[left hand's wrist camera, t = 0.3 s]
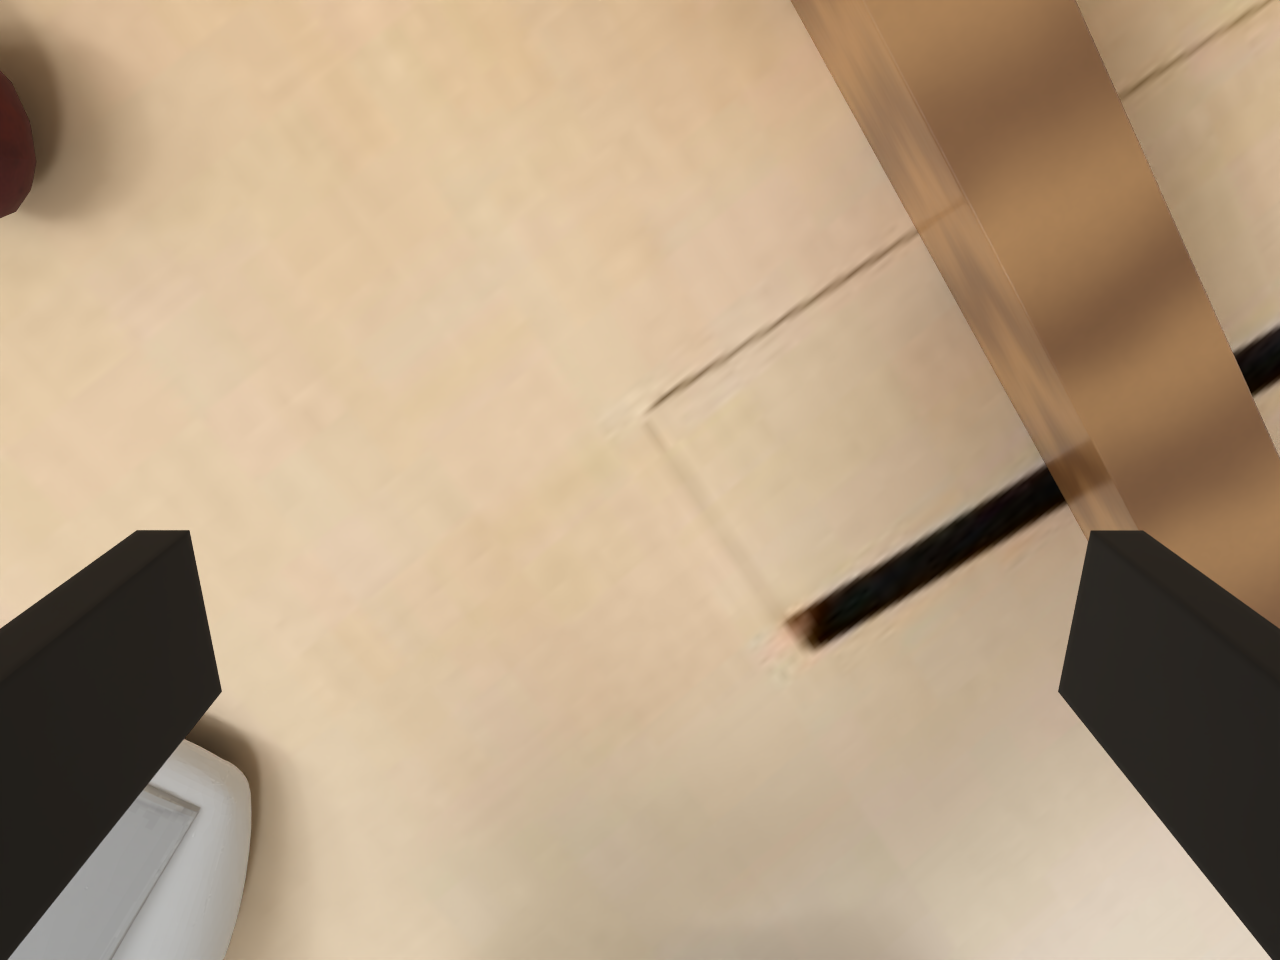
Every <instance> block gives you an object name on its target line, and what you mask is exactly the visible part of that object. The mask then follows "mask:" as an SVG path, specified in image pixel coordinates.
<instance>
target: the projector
mask: <svg viewBox="0 0 1280 960" xmlns="http://www.w3.org/2000/svg"><path fill="white" fill-rule="evenodd" d="M251 815H252V813H251V792H250V788H249V783H248V780H247V778H246V777H245V776H244V774H243V773H242V772H241V771H240V770H239V769H238V768H237V767H236V766H235V765H233V764H232V763H230V762H229V761H226V760H224V759H222V758H220V757H218V756H217V755H215V754H213V753H211V752H209V751H208V750H206V749H204V748H202V747H200V746H198V745H196V744H194V743H192V742H190V741H188V740H185V739H184V740H183V741H182V742H181V743H180V745H179V746H178V747H177V748H176V750H175V751H174V752H173V753H172V755H171V756H170V757H169V758H168V760H167V761H166V762H165V763H164V765H163V766H162V767H161V768H160V770H159V771H158V772H157V773H156V775H155V776H154V777H153V778H152V780H151V781H150V782H149V783H148V785H147V786H146V787H145V788H144V790H143V791H142V792H141V793H140V795H139V796H138V797H137V798H136V800H135V801H134V802H133V803H132V805H131V806H130V807H129V808H128V810H127V811H126V812H125V813H124V815H123V816H122V817H121V818H120V820H119V821H118V822H117V823H116V825H115V826H114V827H113V828H112V830H111V831H110V832H109V833H108V835H107V836H106V837H105V838H104V840H103V841H102V842H101V843H100V845H99V846H98V847H97V849H96V850H95V851H94V852H93V854H92V855H91V856H90V857H89V859H88V860H87V861H86V862H85V864H84V865H83V866H82V867H81V869H80V870H79V871H78V872H77V874H76V875H75V876H74V877H73V879H72V880H71V881H70V882H69V884H68V885H67V886H66V887H65V889H64V890H63V891H62V892H61V894H60V895H59V896H58V897H57V899H56V900H55V901H54V902H53V904H52V905H51V906H50V907H49V909H48V910H47V911H46V912H45V914H44V915H43V916H42V917H41V919H40V920H39V921H38V922H37V924H36V925H35V926H34V927H33V929H32V930H31V931H30V932H29V934H28V935H27V936H26V937H25V939H24V940H23V941H22V942H21V944H20V945H19V946H18V947H17V949H16V950H15V951H14V952H13V954H12V955H11V956H10V957H9V959H8V960H224V957H225V955H226V952H227V949H228V946H229V943H230V940H231V937H232V934H233V930H234V927H235V924H236V920H237V916H238V912H239V908H240V904H241V900H242V895H243V890H244V884H245V879H246V872H247V864H248V857H249V849H250V837H251Z"/></svg>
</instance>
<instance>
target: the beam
mask: <svg viewBox="0 0 1280 960" xmlns="http://www.w3.org/2000/svg"><path fill="white" fill-rule="evenodd" d="M791 2H792V3H793V5H794V7H795V9H796V11H797V13H798V14H799V16H800V18H801V20H802V22H803V23H804V25H805V27H806V29H807V31H808V33H809V34H810V36H811V38H812V40H813V42H814V43H815V45H816V47H817V49H818V51H819V53H820V54H821V56H822V58H823V60H824V62H825V63H826V65H827V67H828V69H829V71H830V73H831V74H832V76H833V78H834V80H835V82H836V83H837V85H838V87H839V89H840V91H841V93H842V94H843V96H844V98H845V100H846V102H847V103H848V105H849V107H850V109H851V111H852V113H853V114H854V116H855V118H856V120H857V122H858V123H859V125H860V127H861V129H862V131H863V133H864V134H865V136H866V138H867V140H868V142H869V143H870V145H871V147H872V149H873V151H874V153H875V154H876V156H877V158H878V160H879V162H880V164H881V165H882V167H883V169H884V171H885V173H886V174H887V176H888V178H889V180H890V182H891V184H892V185H893V187H894V189H895V191H896V193H897V194H898V196H899V198H900V200H901V202H902V204H903V205H904V207H905V209H906V211H907V213H908V214H909V216H910V218H911V220H912V222H913V224H914V225H915V227H916V229H917V231H918V233H919V234H920V236H921V238H922V240H923V242H924V244H925V245H926V247H927V249H928V251H929V253H930V254H931V256H932V258H933V260H934V262H935V264H936V265H937V267H938V269H939V271H940V273H941V274H942V276H943V278H944V280H945V282H946V284H947V285H948V287H949V289H950V291H951V293H952V294H953V296H954V298H955V300H956V302H957V304H958V305H959V307H960V309H961V311H962V313H963V315H964V316H965V318H966V320H967V322H968V324H969V325H970V327H971V329H972V331H973V333H974V335H975V336H976V338H977V340H978V342H979V344H980V345H981V347H982V349H983V351H984V353H985V355H986V356H987V358H988V360H989V362H990V364H991V365H992V367H993V369H994V371H995V373H996V375H997V376H998V378H999V380H1000V382H1001V384H1002V385H1003V387H1004V389H1005V391H1006V393H1007V395H1008V396H1009V398H1010V400H1011V402H1012V404H1013V405H1014V407H1015V409H1016V411H1017V413H1018V415H1019V416H1020V418H1021V420H1022V422H1023V424H1024V425H1025V427H1026V429H1027V431H1028V433H1029V435H1030V436H1031V438H1032V440H1033V442H1034V444H1035V445H1036V447H1037V449H1038V451H1039V453H1040V455H1041V456H1042V458H1043V460H1044V462H1045V464H1046V466H1047V467H1048V469H1049V471H1050V473H1051V475H1052V476H1053V478H1054V480H1055V482H1056V484H1057V486H1058V487H1059V489H1060V491H1061V493H1062V495H1063V496H1064V498H1065V500H1066V502H1067V504H1068V506H1069V507H1070V509H1071V511H1072V513H1073V515H1074V516H1075V518H1076V520H1077V522H1078V524H1079V526H1080V527H1081V529H1082V531H1083V533H1084V535H1085V536H1086V538H1087V540H1088V541H1089V536H1090V531H1091V530H1143V531H1145V532H1146V533H1147V534H1149V535H1150V536H1152V537H1153V538H1154V539H1156V540H1157V541H1159V542H1160V543H1161V544H1163V545H1164V546H1166V547H1167V548H1168V549H1170V550H1171V551H1172V552H1174V553H1175V554H1177V555H1178V556H1179V557H1181V558H1182V559H1184V560H1185V561H1186V562H1188V563H1189V564H1191V565H1192V566H1193V567H1195V568H1196V569H1197V570H1199V571H1200V572H1202V573H1203V574H1204V575H1206V576H1207V577H1209V578H1210V579H1211V580H1213V581H1214V582H1216V583H1217V584H1218V585H1220V586H1221V587H1222V588H1224V589H1225V590H1227V591H1228V592H1229V593H1231V594H1232V595H1234V596H1235V597H1236V598H1238V599H1239V600H1241V601H1242V602H1243V603H1245V604H1246V605H1247V606H1249V607H1250V608H1252V609H1253V610H1254V611H1256V612H1257V613H1259V614H1260V615H1261V616H1263V617H1264V618H1265V619H1267V620H1268V621H1270V622H1271V623H1272V624H1274V625H1275V626H1277V627H1278V628H1279V629H1280V458H1279V455H1278V453H1277V451H1276V449H1275V446H1274V444H1273V442H1272V440H1271V437H1270V435H1269V433H1268V431H1267V428H1266V426H1265V424H1264V422H1263V419H1262V417H1261V415H1260V413H1259V411H1258V408H1257V406H1256V404H1255V402H1254V399H1253V397H1252V395H1251V393H1250V390H1249V388H1248V386H1247V384H1246V381H1245V379H1244V377H1243V375H1242V372H1241V370H1240V368H1239V366H1238V363H1237V361H1236V359H1235V357H1234V355H1233V352H1232V350H1231V348H1230V346H1229V343H1228V341H1227V339H1226V337H1225V334H1224V332H1223V330H1222V328H1221V325H1220V323H1219V321H1218V319H1217V316H1216V314H1215V312H1214V310H1213V307H1212V305H1211V303H1210V301H1209V299H1208V296H1207V294H1206V292H1205V290H1204V287H1203V285H1202V283H1201V281H1200V278H1199V276H1198V274H1197V272H1196V269H1195V267H1194V265H1193V263H1192V260H1191V258H1190V256H1189V254H1188V252H1187V249H1186V247H1185V245H1184V243H1183V240H1182V238H1181V236H1180V234H1179V231H1178V229H1177V227H1176V225H1175V222H1174V220H1173V218H1172V216H1171V213H1170V211H1169V209H1168V207H1167V204H1166V202H1165V200H1164V198H1163V196H1162V193H1161V191H1160V189H1159V187H1158V184H1157V182H1156V180H1155V178H1154V175H1153V173H1152V171H1151V169H1150V166H1149V164H1148V162H1147V160H1146V157H1145V155H1144V153H1143V151H1142V148H1141V146H1140V144H1139V142H1138V140H1137V137H1136V135H1135V133H1134V131H1133V128H1132V126H1131V124H1130V122H1129V119H1128V117H1127V115H1126V113H1125V110H1124V108H1123V106H1122V104H1121V101H1120V99H1119V97H1118V95H1117V92H1116V90H1115V88H1114V86H1113V84H1112V81H1111V79H1110V77H1109V75H1108V72H1107V70H1106V68H1105V66H1104V63H1103V61H1102V59H1101V57H1100V54H1099V52H1098V50H1097V48H1096V45H1095V43H1094V41H1093V39H1092V37H1091V34H1090V32H1089V30H1088V28H1087V25H1086V23H1085V21H1084V19H1083V16H1082V14H1081V12H1080V10H1079V7H1078V5H1077V3H1076V1H1075V0H791Z"/></svg>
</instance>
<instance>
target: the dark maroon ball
mask: <svg viewBox="0 0 1280 960" xmlns="http://www.w3.org/2000/svg"><path fill="white" fill-rule="evenodd" d="M35 166H36V157H35V151H34V144H33V138H32V131H31V125H30V122H29V119H28V117H27V115H26V113H25V110H24V108H23V106H22V104H21V102H20V100H19V97H18V95H17V93H16V91H15V89H14V87H13V84H12V82H11V81H10V80H9V79H8V78H7V77H6V76H5V75H4V74H3V73H2V72H1V71H0V218H2V217H4V216H6V215H9V214H11V213H14V212H16V211H17V209H18V208H19V206H20V205H21V203H22V202H23V200H24V199H25V198H26V196H27V195H28V193H29V192H30V190H31V187H32V182H33V177H34V171H35Z"/></svg>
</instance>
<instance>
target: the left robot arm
mask: <svg viewBox="0 0 1280 960" xmlns="http://www.w3.org/2000/svg"><path fill="white" fill-rule="evenodd" d="M221 692H222V690H221V685H220V680H219V675H218V670H217V665H216V660H215V655H214V650H213V645H212V640H211V635H210V630H209V625H208V620H207V615H206V610H205V605H204V600H203V595H202V591H201V586H200V581H199V576H198V571H197V566H196V561H195V556H194V551H193V546H192V541H191V536H190V531H189V530H137V531H135V532H134V533H133V534H131V535H130V536H128V537H127V538H126V539H124V540H123V541H121V542H120V543H119V544H117V545H116V546H114V547H113V548H112V549H110V550H109V551H108V552H106V553H105V554H103V555H102V556H101V557H99V558H98V559H96V560H95V561H94V562H92V563H91V564H89V565H88V566H87V567H85V568H84V569H83V570H81V571H80V572H78V573H77V574H76V575H74V576H73V577H71V578H70V579H69V580H67V581H66V582H64V583H63V584H62V585H60V586H59V587H58V588H56V589H55V590H53V591H52V592H51V593H49V594H48V595H46V596H45V597H44V598H42V599H41V600H39V601H38V602H37V603H35V604H34V605H33V606H31V607H30V608H28V609H27V610H26V611H24V612H23V613H21V614H20V615H19V616H17V617H16V618H15V619H13V620H12V621H10V622H9V623H8V624H6V625H5V626H3V627H2V628H1V629H0V960H8V959H9V957H10V956H11V955H12V954H13V952H14V951H15V950H16V949H17V947H18V946H19V945H20V944H21V942H22V941H23V940H24V939H25V937H26V936H27V935H28V934H29V932H30V931H31V930H32V929H33V927H34V926H35V925H36V924H37V922H38V921H39V920H40V919H41V917H42V916H43V915H44V914H45V912H46V911H47V910H48V909H49V907H50V906H51V905H52V904H53V902H54V901H55V900H56V899H57V897H58V896H59V895H60V894H61V892H62V891H63V890H64V889H65V887H66V886H67V885H68V884H69V882H70V881H71V880H72V879H73V877H74V876H75V875H76V874H77V872H78V871H79V870H80V869H81V867H82V866H83V865H84V864H85V862H86V861H87V860H88V859H89V857H90V856H91V855H92V854H93V852H94V851H95V850H96V849H97V847H98V846H99V845H100V843H101V842H102V841H103V840H104V838H105V837H106V836H107V835H108V833H109V832H110V831H111V830H112V828H113V827H114V826H115V825H116V823H117V822H118V821H119V820H120V818H121V817H122V816H123V815H124V813H125V812H126V811H127V810H128V808H129V807H130V806H131V805H132V803H133V802H134V801H135V800H136V798H137V797H138V796H139V795H140V793H141V792H142V791H143V790H144V788H145V787H146V786H147V785H148V783H149V782H150V781H151V780H152V778H153V777H154V776H155V775H156V773H157V772H158V771H159V770H160V768H161V767H162V766H163V765H164V763H165V762H166V761H167V760H168V758H169V757H170V756H171V755H172V753H173V752H174V751H175V750H176V748H177V747H178V746H179V745H180V743H181V742H182V741H183V740H184V738H185V737H186V736H187V735H188V733H189V732H190V731H191V730H192V728H193V727H194V726H195V725H196V723H197V722H198V721H199V720H200V718H201V717H202V716H203V715H204V713H205V712H206V711H207V710H208V708H209V707H210V706H211V705H212V703H213V702H214V701H215V699H216V698H217V697H218V696H219V694H220V693H221ZM1058 692H1059V693H1060V694H1061V696H1062V697H1063V698H1064V699H1065V701H1066V702H1067V703H1068V705H1069V706H1070V707H1071V708H1072V710H1073V711H1074V712H1075V713H1076V715H1077V716H1078V717H1079V718H1080V720H1081V721H1082V722H1083V723H1084V725H1085V726H1086V727H1087V728H1088V730H1089V731H1090V732H1091V733H1092V735H1093V736H1094V737H1095V738H1096V740H1097V741H1098V742H1099V743H1100V745H1101V746H1102V747H1103V748H1104V750H1105V751H1106V752H1107V753H1108V755H1109V756H1110V757H1111V758H1112V760H1113V761H1114V762H1115V763H1116V765H1117V766H1118V767H1119V768H1120V770H1121V771H1122V772H1123V773H1124V775H1125V776H1126V777H1127V778H1128V780H1129V781H1130V782H1131V783H1132V785H1133V786H1134V787H1135V788H1136V790H1137V791H1138V792H1139V793H1140V795H1141V796H1142V797H1143V798H1144V800H1145V801H1146V802H1147V803H1148V805H1149V806H1150V807H1151V808H1152V810H1153V811H1154V812H1155V813H1156V815H1157V816H1158V817H1159V818H1160V820H1161V821H1162V822H1163V823H1164V825H1165V826H1166V827H1167V828H1168V830H1169V831H1170V832H1171V833H1172V835H1173V836H1174V837H1175V838H1176V840H1177V841H1178V842H1179V844H1180V845H1181V846H1182V847H1183V849H1184V850H1185V851H1186V852H1187V854H1188V855H1189V856H1190V857H1191V859H1192V860H1193V861H1194V862H1195V864H1196V865H1197V866H1198V867H1199V869H1200V870H1201V871H1202V872H1203V874H1204V875H1205V876H1206V877H1207V879H1208V880H1209V881H1210V882H1211V884H1212V885H1213V886H1214V887H1215V889H1216V890H1217V891H1218V892H1219V894H1220V895H1221V896H1222V897H1223V899H1224V900H1225V901H1226V902H1227V904H1228V905H1229V906H1230V907H1231V909H1232V910H1233V911H1234V912H1235V914H1236V915H1237V916H1238V917H1239V919H1240V920H1241V921H1242V922H1243V924H1244V925H1245V926H1246V927H1247V929H1248V930H1249V931H1250V932H1251V934H1252V935H1253V936H1254V937H1255V939H1256V940H1257V941H1258V942H1259V944H1260V945H1261V946H1262V947H1263V949H1264V950H1265V951H1266V952H1267V954H1268V955H1269V956H1270V957H1271V959H1272V960H1280V629H1279V628H1278V627H1277V626H1275V625H1274V624H1272V623H1271V622H1270V621H1268V620H1267V619H1265V618H1264V617H1263V616H1261V615H1260V614H1259V613H1257V612H1256V611H1254V610H1253V609H1252V608H1250V607H1249V606H1247V605H1246V604H1245V603H1243V602H1242V601H1241V600H1239V599H1238V598H1236V597H1235V596H1234V595H1232V594H1231V593H1229V592H1228V591H1227V590H1225V589H1224V588H1222V587H1221V586H1220V585H1218V584H1217V583H1216V582H1214V581H1213V580H1211V579H1210V578H1209V577H1207V576H1206V575H1204V574H1203V573H1202V572H1200V571H1199V570H1197V569H1196V568H1195V567H1193V566H1192V565H1191V564H1189V563H1188V562H1186V561H1185V560H1184V559H1182V558H1181V557H1179V556H1178V555H1177V554H1175V553H1174V552H1172V551H1171V550H1170V549H1168V548H1167V547H1166V546H1164V545H1163V544H1161V543H1160V542H1159V541H1157V540H1156V539H1154V538H1153V537H1152V536H1150V535H1149V534H1147V533H1146V532H1145V531H1143V530H1091V531H1090V536H1089V541H1088V546H1087V551H1086V556H1085V561H1084V566H1083V571H1082V576H1081V581H1080V586H1079V591H1078V595H1077V600H1076V605H1075V610H1074V615H1073V620H1072V625H1071V630H1070V635H1069V640H1068V645H1067V650H1066V655H1065V660H1064V665H1063V670H1062V675H1061V680H1060V685H1059V690H1058Z"/></svg>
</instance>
